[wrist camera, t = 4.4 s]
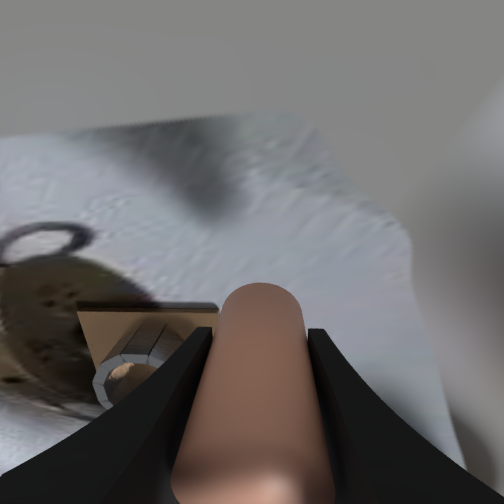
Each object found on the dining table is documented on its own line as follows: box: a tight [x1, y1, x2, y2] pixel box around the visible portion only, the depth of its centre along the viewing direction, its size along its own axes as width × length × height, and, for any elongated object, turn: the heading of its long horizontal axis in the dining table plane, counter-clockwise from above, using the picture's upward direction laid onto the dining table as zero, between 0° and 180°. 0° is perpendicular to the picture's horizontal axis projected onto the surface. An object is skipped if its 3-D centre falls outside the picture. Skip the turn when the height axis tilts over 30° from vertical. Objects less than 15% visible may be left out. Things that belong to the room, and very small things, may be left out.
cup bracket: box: [77, 307, 220, 410], centre depth 21 cm, size 11×11×3 cm
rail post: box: [171, 283, 335, 504], centre depth 10 cm, size 4×4×7 cm
